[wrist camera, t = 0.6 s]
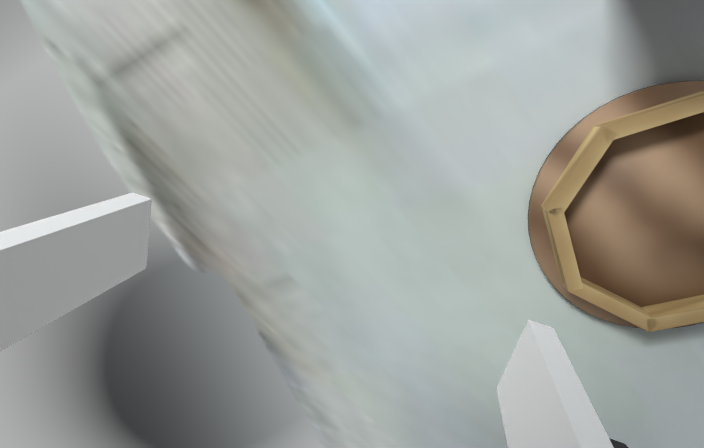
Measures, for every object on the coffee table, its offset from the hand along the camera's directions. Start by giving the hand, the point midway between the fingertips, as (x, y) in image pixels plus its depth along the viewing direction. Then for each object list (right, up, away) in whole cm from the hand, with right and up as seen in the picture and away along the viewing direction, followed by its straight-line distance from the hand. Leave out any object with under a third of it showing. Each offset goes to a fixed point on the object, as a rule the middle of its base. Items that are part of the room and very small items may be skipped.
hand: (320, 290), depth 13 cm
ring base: (+27, +3, +21) cm, 34 cm away
